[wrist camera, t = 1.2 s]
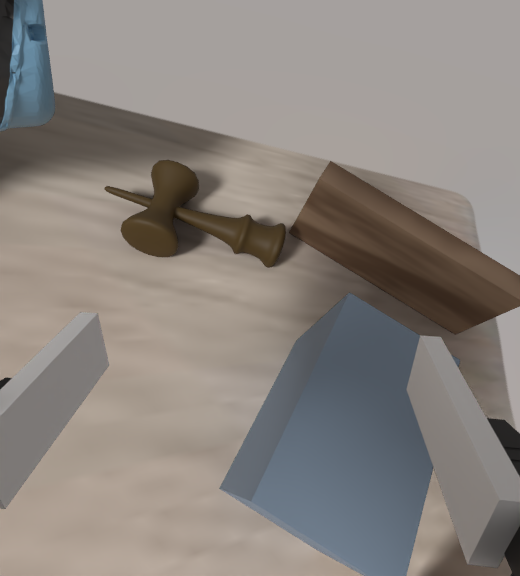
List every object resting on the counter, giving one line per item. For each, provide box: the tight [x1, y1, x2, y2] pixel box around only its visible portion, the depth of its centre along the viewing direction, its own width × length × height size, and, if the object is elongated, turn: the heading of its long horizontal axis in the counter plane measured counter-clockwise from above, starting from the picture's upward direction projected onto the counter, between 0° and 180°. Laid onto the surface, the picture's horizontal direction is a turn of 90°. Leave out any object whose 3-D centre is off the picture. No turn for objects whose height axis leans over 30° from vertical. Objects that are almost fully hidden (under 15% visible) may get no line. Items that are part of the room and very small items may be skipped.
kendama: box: [105, 160, 286, 268], centre depth 41 cm, size 6×10×20 cm
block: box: [219, 292, 460, 576], centre depth 31 cm, size 16×10×13 cm, turn 151°
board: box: [289, 161, 520, 334], centre depth 42 cm, size 3×24×10 cm, turn 61°
